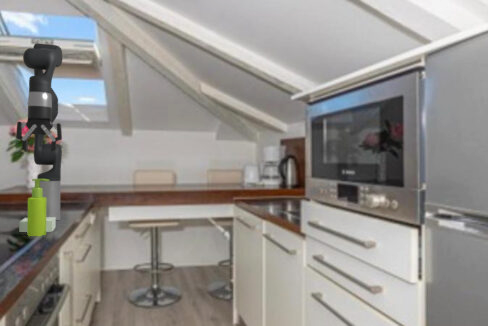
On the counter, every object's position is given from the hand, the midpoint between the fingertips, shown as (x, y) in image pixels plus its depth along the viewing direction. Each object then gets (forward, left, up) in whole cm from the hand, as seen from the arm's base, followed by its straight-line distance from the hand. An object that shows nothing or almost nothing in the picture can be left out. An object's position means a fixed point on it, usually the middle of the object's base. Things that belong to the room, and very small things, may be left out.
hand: (39, 152), depth 144 cm
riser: (-11, -2, -29) cm, 31 cm away
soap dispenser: (0, 0, -30) cm, 30 cm away
